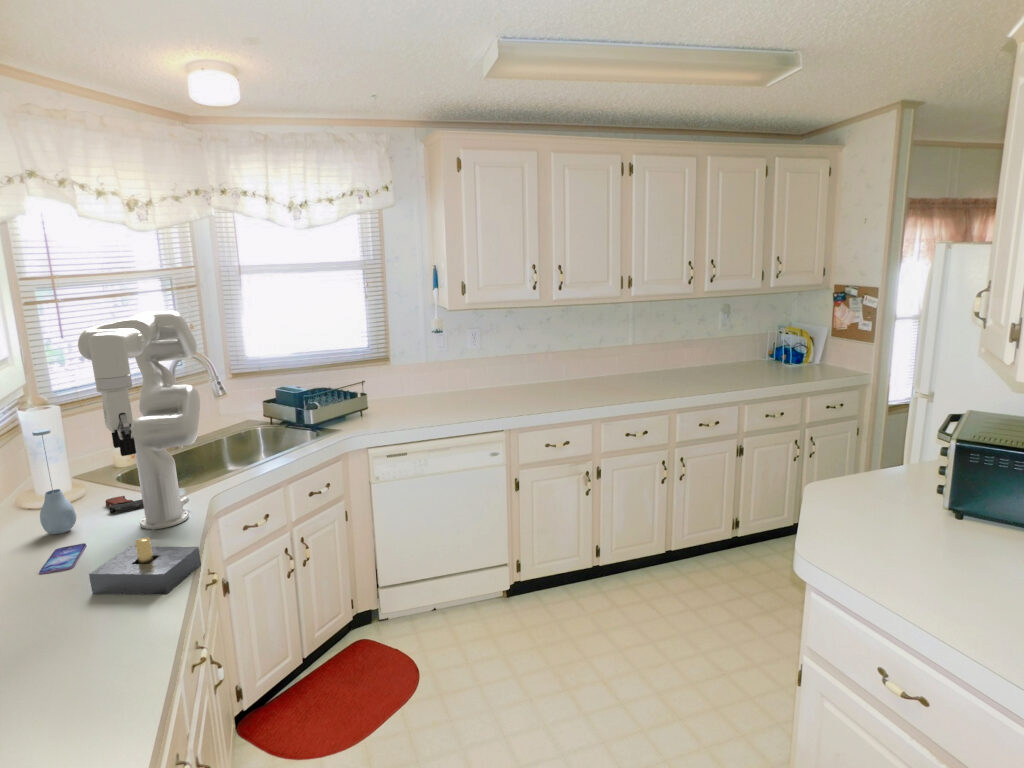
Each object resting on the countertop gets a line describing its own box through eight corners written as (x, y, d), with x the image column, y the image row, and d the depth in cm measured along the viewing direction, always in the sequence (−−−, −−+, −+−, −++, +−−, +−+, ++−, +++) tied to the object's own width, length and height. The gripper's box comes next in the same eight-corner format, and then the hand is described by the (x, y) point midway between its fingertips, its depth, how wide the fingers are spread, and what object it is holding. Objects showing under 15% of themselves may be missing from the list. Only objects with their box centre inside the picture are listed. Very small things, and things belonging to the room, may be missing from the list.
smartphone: (37, 573, 157) (55, 548, 171) (38, 576, 157) (56, 551, 171) (72, 566, 160) (87, 542, 173) (73, 569, 160) (88, 545, 174)
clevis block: (132, 564, 161) (129, 546, 160) (201, 565, 159) (198, 546, 158) (92, 593, 147) (88, 573, 146) (166, 594, 145) (163, 574, 144)
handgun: (160, 487, 212) (167, 496, 202) (161, 495, 212) (168, 504, 203) (104, 498, 202) (109, 508, 193) (105, 506, 202) (110, 516, 193)
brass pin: (146, 576, 155) (140, 537, 153) (158, 576, 154) (152, 537, 152) (138, 582, 152) (132, 542, 150) (151, 582, 151) (144, 542, 149)
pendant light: (74, 524, 188) (56, 425, 182) (81, 531, 182) (62, 430, 176) (41, 533, 182) (21, 431, 177) (46, 541, 177) (26, 436, 171)
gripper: (90, 381, 161) (101, 446, 164) (101, 390, 148) (113, 461, 151) (124, 376, 165) (135, 440, 169) (138, 385, 152) (149, 454, 156)
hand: (124, 450), depth 160 cm, fingers open, 9 cm apart
